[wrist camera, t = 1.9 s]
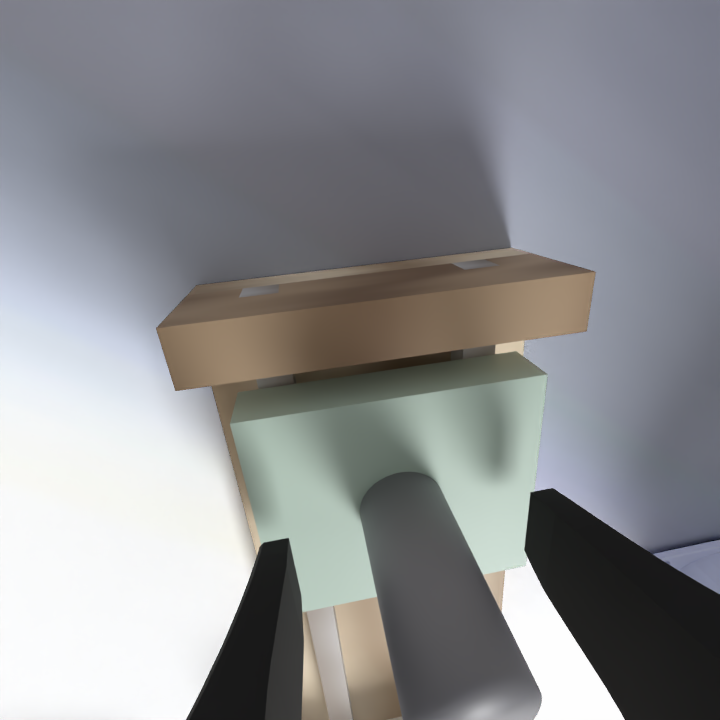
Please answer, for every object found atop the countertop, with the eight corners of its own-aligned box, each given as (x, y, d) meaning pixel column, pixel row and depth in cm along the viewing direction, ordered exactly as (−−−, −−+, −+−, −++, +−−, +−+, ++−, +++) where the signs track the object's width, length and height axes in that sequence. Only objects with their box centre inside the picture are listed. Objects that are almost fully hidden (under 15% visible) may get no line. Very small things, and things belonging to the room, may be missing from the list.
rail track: (511, 247, 13) (595, 271, 10) (484, 669, 23) (521, 762, 19) (196, 285, 12) (155, 328, 8) (305, 711, 22) (308, 818, 18)
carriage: (516, 351, 12) (746, 521, 6) (502, 528, 15) (647, 764, 9) (237, 392, 11) (174, 640, 5) (280, 571, 14) (273, 865, 8)
